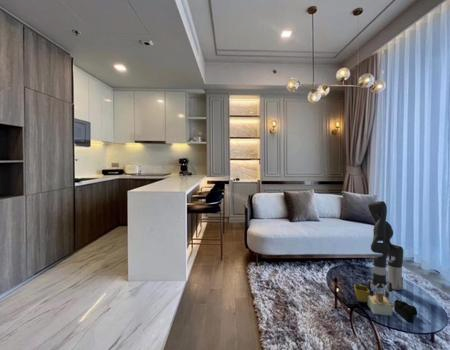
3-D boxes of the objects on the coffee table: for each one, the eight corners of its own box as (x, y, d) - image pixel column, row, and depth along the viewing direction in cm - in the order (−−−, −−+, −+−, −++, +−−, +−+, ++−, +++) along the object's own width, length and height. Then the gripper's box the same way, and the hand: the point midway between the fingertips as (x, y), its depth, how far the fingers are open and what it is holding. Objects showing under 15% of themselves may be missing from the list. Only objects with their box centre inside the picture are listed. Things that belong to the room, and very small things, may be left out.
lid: (385, 299, 171) (385, 289, 171) (393, 308, 159) (393, 297, 159) (367, 297, 173) (367, 287, 173) (373, 306, 162) (373, 295, 162)
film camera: (423, 323, 152) (424, 309, 152) (407, 323, 152) (407, 308, 152) (406, 309, 167) (406, 296, 167) (391, 309, 167) (392, 296, 167)
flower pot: (355, 302, 176) (355, 289, 176) (353, 296, 184) (354, 284, 184) (369, 304, 173) (369, 291, 173) (367, 298, 181) (367, 286, 181)
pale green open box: (385, 306, 171) (385, 297, 171) (392, 315, 160) (392, 306, 160) (367, 304, 173) (367, 296, 173) (373, 313, 162) (373, 304, 162)
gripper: (389, 271, 168) (388, 295, 168) (365, 269, 171) (365, 292, 171) (394, 275, 161) (393, 300, 161) (369, 273, 164) (369, 298, 164)
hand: (379, 296), depth 166 cm, fingers open, 8 cm apart
